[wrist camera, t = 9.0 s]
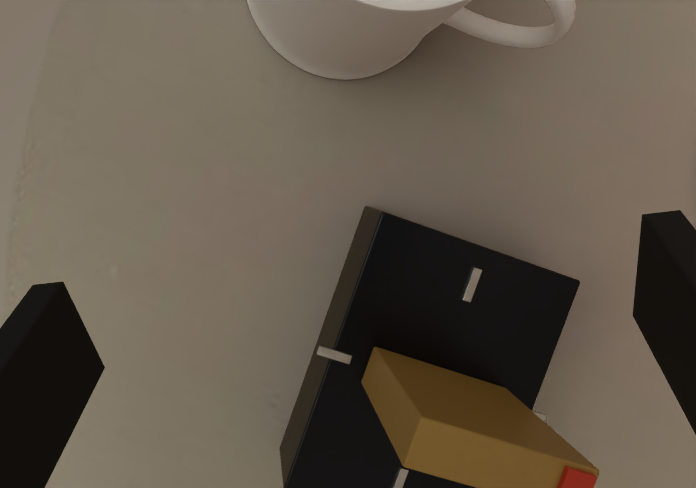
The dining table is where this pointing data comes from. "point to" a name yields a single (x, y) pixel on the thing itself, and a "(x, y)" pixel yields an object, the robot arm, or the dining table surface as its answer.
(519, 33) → the mug
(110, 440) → the dining table surface
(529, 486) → the yellow rectangular block
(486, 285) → the socket block
